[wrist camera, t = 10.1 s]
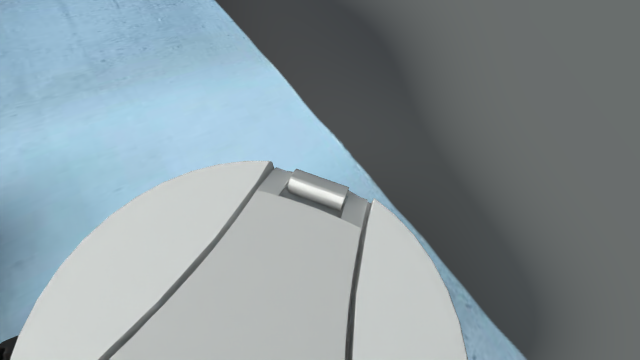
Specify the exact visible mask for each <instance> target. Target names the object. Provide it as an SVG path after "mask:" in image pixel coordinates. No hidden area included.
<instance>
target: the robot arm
mask: <svg viewBox="0 0 640 360" xmlns="http://www.w3.org/2000/svg"><path fill="white" fill-rule="evenodd" d="M17 339H18V336H16V337H13V338H11V339H8V340H6V341H4V342H2V343H0V360H10V358H11V355H12V353H13V350H14V347H15V344H16V342H17Z"/></svg>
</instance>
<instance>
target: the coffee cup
mask: <svg viewBox="0 0 640 360" xmlns="http://www.w3.org/2000/svg"><path fill="white" fill-rule="evenodd" d="M348 189H349V187H347V186H344V185H341V184H338V183H335V182H332V181H330V180H327V179H324V178H321V177H318V176H316V175H313V174H310V173H307V172H304V171H301V170H299V169H295V171H294V172H291V171H285V170H282V169H280V168H277V167H276V168H275V169H274V167H273V163H272V162H271V161H242V162H233V163H225V164H218V165H214V166H210V167H206V168H202V169H199V170H195V171H191V172H188V173H186V174H183V175H181V176H178V177H176V178H173V179H170V180H168V181H165V182H163V183H161V184H159V185H157V186H156V187H154V188H152V189H150V190H148V191H146V192H145V193H143V194H141V195H139V196H137V197H136V198H134V199H133V200H131V201H130V202H128V203H127V204H126V205H124V206H123V207H121V208H120V209H119V210H117V211H116V212H114V213H113V214H111V215H110V216H109V217H108V218H107V219H106V220H104V221H103V222H102V223H101V224H100V225H99V226H98V227H97V228H96V229H94V230H93V231H92V232H91V233H90V234H89V235H88V236H87V237H86V238H84V239H83V241H82V242H81V243H80V244H79V245H78V246H77V247H76V249H75V250H74V251H73V252H72V253H71V254H70V255H69V257H68V258H67V259H66V260H65V261H64V262H63V263H62V265H61V266H60V267H59V268H58V270H57V271H56V273H55V274H54V276H53V277H52V279H51V280H50V282H49V283H48V285H47V286H46V287H45V289H44V290H43V292H42V293H41V295H40V296H39V298H38V299H37V301H36V303H35V305H34V307H33V309H32V311H31V313H30V315H29V317H28V319H27V321H26V323H25V324H24V326H23V328H22V330H21V332H20V334H19V336H18V339H17V342H16V344H15V347H14V350H13V353H12V355H11V358H10V360H468V357H467V353H466V348H465V344H464V339H463V335H462V330H461V326H460V322H459V319H458V316H457V314H456V311H455V308H454V305H453V303H452V300H451V297H450V295H449V292H448V289H447V287H446V286H445V284H444V282H443V280H442V278H441V276H440V274H439V272H438V270H437V268H436V267H435V265H434V263H433V261H432V259H431V258H430V257H429V255H428V254H427V252H426V251H425V250H424V248H423V247H422V245H421V244H420V243H419V241H418V240H417V238H416V237H415V236H414V235H413V233H412V232H411V231H410V230H409V229H408V228H407V227H406V226H405V225H404V224H403V223H402V222H401V221H400V220H399V219H398V218H397V217H396V215H395V214H393V213H392V212H391V211H390V210H388V209H387V208H386V207H385V206H384V205H382V204H381V203H380V202H379V201H377V200H376V199H375V198H374V199H373V201H372V203H369V202H367V201H368V200H367V199H364V198H361V197H359V196H357V195H356V194H354V193H353V192H351V191H349V190H348Z"/></svg>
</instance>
